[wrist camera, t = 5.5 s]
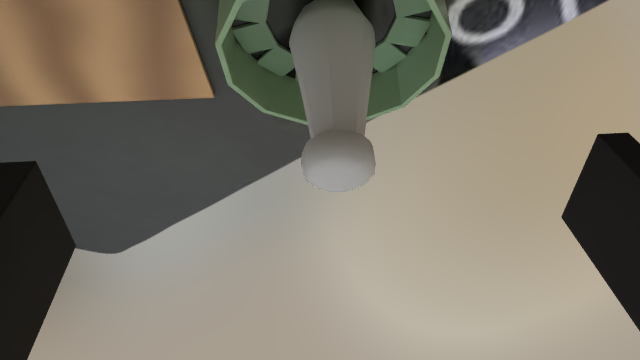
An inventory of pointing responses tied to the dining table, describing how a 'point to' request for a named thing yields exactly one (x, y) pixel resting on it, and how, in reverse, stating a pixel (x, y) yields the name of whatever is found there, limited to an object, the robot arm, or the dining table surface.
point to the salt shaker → (335, 92)
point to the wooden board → (97, 52)
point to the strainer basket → (271, 68)
